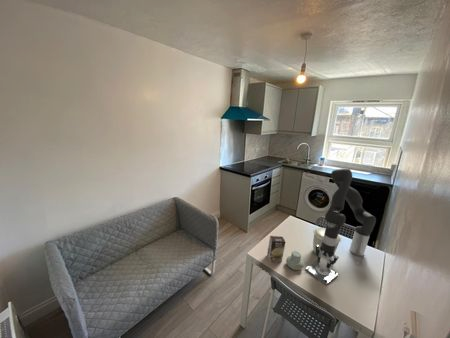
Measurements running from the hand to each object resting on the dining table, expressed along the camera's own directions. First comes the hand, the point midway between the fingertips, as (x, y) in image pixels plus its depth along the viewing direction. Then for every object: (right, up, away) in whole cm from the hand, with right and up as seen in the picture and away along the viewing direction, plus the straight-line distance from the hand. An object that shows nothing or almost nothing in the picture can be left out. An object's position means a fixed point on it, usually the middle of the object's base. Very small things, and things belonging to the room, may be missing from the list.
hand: (323, 264), depth 123 cm
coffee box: (-29, -2, +12) cm, 31 cm away
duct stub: (0, -2, +1) cm, 2 cm away
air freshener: (-17, -4, +6) cm, 18 cm away
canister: (+9, -2, +20) cm, 22 cm away
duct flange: (0, -6, +2) cm, 7 cm away
